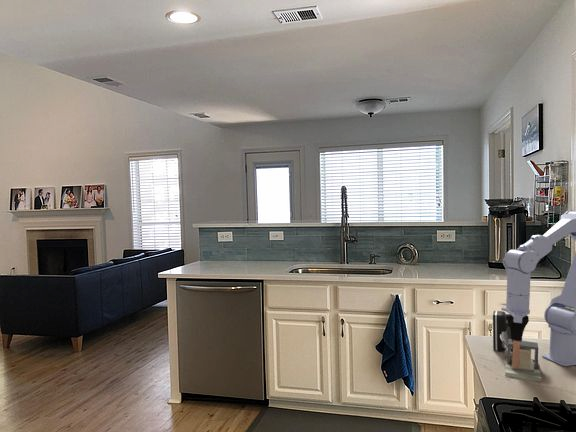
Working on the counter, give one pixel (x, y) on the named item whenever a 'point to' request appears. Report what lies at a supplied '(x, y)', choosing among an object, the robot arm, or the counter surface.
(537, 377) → the track board
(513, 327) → the robot arm
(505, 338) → the tin
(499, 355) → the counter surface
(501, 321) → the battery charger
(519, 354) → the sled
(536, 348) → the grey box
